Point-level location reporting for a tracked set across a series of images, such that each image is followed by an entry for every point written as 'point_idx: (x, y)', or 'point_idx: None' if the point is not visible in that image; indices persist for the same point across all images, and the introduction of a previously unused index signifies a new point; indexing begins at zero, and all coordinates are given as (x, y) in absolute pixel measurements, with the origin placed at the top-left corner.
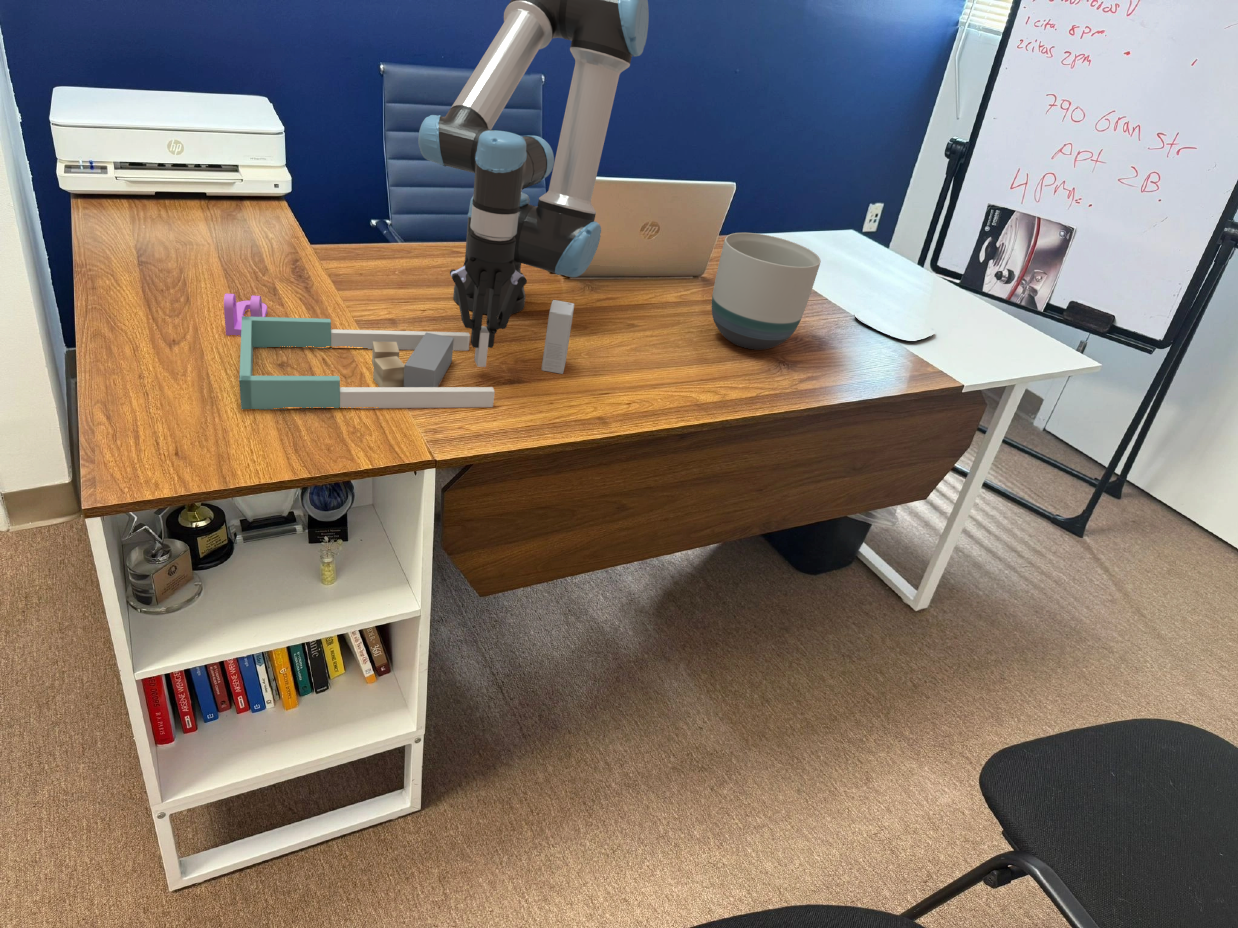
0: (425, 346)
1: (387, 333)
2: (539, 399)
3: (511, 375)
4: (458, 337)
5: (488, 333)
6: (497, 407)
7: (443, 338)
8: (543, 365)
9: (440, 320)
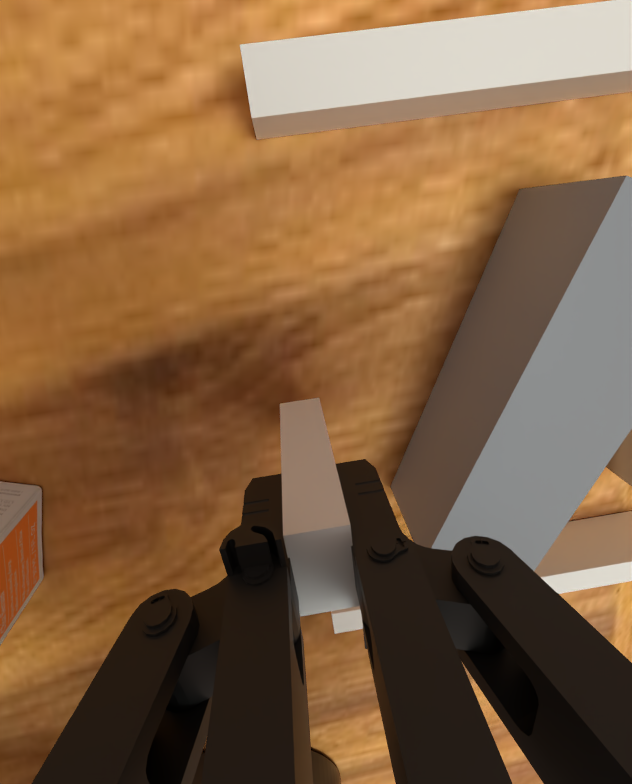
0: (574, 462)
1: (623, 567)
2: (3, 212)
3: (166, 427)
4: None
5: (289, 532)
6: (223, 86)
7: None
8: (22, 500)
9: None
